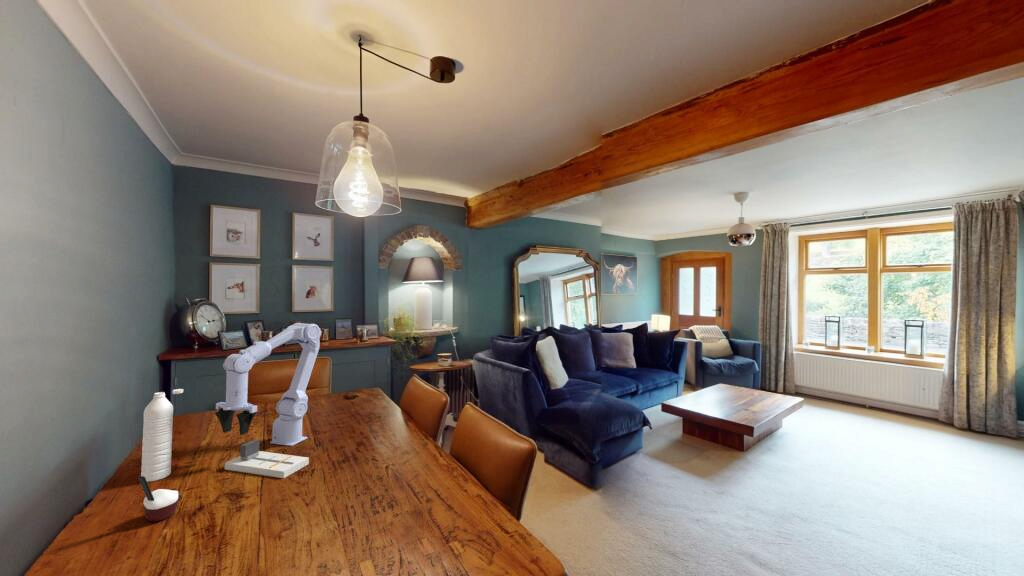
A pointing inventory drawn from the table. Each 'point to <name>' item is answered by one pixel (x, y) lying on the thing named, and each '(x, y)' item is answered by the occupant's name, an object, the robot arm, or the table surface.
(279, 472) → the fader console
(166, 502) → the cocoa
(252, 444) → the fader tab
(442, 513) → the table surface
